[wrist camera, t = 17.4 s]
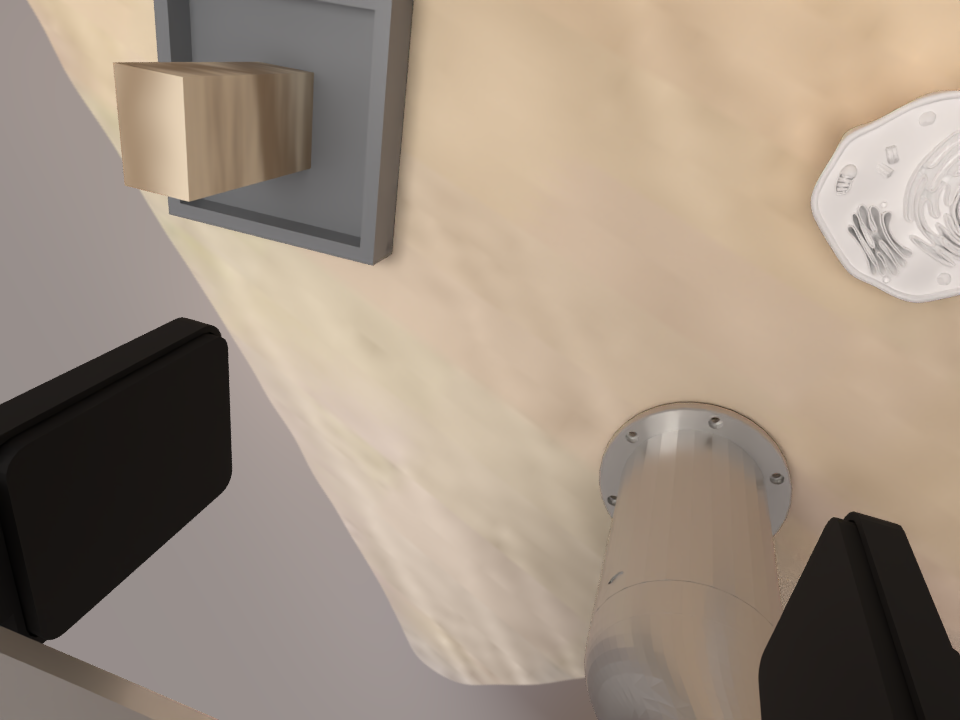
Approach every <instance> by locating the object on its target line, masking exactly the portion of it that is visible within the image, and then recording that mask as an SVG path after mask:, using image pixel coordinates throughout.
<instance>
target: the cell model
mask: <svg viewBox="0 0 960 720" xmlns="http://www.w3.org/2000/svg"><path fill="white" fill-rule="evenodd" d="M811 210H812V214H813V216H814V219H815V221H816V223H817V225H818V227H819V229H820V230H821V232H822V234H823V235H824V237H825V239H826V240H827V242H828V244H829V245H830V247H831V248H832V250H833V252H834V253H835V255H836V256H837V258H838V259H839V261H840V262H841V264H842V265H843V267H844V268H845V269H846V270H847V271H848V272H849V273H850V274H851V275H852V276H854V277H855V278H857V279H859V280H861V281H864V282H866V283H868V284H870V285H873V286H875V287H877V288H879V289H880V290H882V291H884V292H886V293H888V294H890V295H892V296H894V297H896V298H899V299H901V300H904V301H908V302H914V303H924V302H930V301H934V300H939V299H944V298H949V297H953V296H957V295H960V90H945V91H936V92H931V93H928V94H925V95H923V96H920V97H918V98H916V99H914V100H913V101H911V102H909V103H908V104H906V105H904V106H902V107H900V108H898V109H896V110H894V111H892V112H891V113H889V114H887V115H885V116H884V117H882V118H879V119H877V120H874V121H872V122H869V123H866V124H863V125H859V126H856V127H854V128H852V129H850V130H848V131H847V132H846V133H845V134H844V135H843V137H842V139H841V141H840V142H839V144H838V146H837V148H836V150H835V152H834V154H833V156H832V157H831V159H830V161H829V162H828V164H827V165H826V167H825V169H824V170H823V172H822V174H821V175H820V177H819V179H818V181H817V183H816V185H815V187H814V190H813V193H812V196H811Z"/></svg>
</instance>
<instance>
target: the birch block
mask: <svg viewBox="0 0 960 720" xmlns="http://www.w3.org/2000/svg"><path fill="white" fill-rule="evenodd" d="M113 67H114V77H115V88H116V98H117V109H118V119H119V130H120V140H121V151H122V161H123V172H124V182H125V185H126V186H129V187H133V188H137V189H141V190H145V191H149V192H153V193H157V194H161V195H165V196H169V197H172V198H176V199H180V200H184V201H188V202H190V201H194V200H197V199H201V198H205V197H208V196H212V195H215V194H219V193H223V192H226V191H230V190H234V189H237V188H241V187H245V186H248V185H252V184H256V183H259V182H263V181H266V180H270V179H274V178H277V177H281V176H285V175H288V174H292V173H296V172H299V171H303V170H307V169H310V168H311V147H312V116H313V85H314V73H313V72H308V71H303V70H298V69H293V68H288V67H283V66H278V65H273V64H268V63H263V62H126V63H113Z"/></svg>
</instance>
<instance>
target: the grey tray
mask: <svg viewBox="0 0 960 720" xmlns="http://www.w3.org/2000/svg"><path fill="white" fill-rule="evenodd" d="M154 11H155V25H156V39H157V53H158V62H263V63H268V64H273V65H278V66H283V67H288V68H293V69H298V70H303V71H308V72H313V73H314V85H313V116H312V147H311V168H310V169H307V170H303V171H299V172H296V173H292V174H288V175H285V176H281V177H277V178H274V179H270V180H266V181H263V182H259V183H256V184H252V185H248V186H245V187H241V188H237V189H234V190H230V191H226V192H223V193H219V194H215V195H212V196H208V197H205V198H201V199H197V200H194V201H190V202H188V201H184V200H180V199H176V198H172V197H169V196H168V205H169V214H171V215H175V216H179V217H183V218H186V219H190V220H194V221H198V222H202V223H206V224H210V225H214V226H218V227H222V228H226V229H230V230H234V231H238V232H242V233H246V234H250V235H254V236H258V237H262V238H266V239H270V240H274V241H277V242H281V243H285V244H289V245H293V246H297V247H301V248H305V249H309V250H313V251H317V252H321V253H325V254H329V255H333V256H337V257H341V258H345V259H349V260H353V261H357V262H361V263H365V264H368V265H372V266H373V265H375V264H376V263H378V262H379V261H381V260H383V259H384V258H386V257H388V256H389V255H391V254H392V244H393V232H394V221H395V209H396V197H397V186H398V174H399V162H400V151H401V139H402V127H403V116H404V104H405V92H406V81H407V69H408V57H409V46H410V34H411V22H412V11H413V0H154Z"/></svg>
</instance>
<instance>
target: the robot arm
mask: <svg viewBox="0 0 960 720" xmlns="http://www.w3.org/2000/svg"><path fill="white" fill-rule="evenodd" d="M229 395H230V393H229V364H228V346H227V342H226V340H225V339H224V338H222V337H221V333H220V332H219V330H218V329H217V328H216V327H215V326H212V325H209V324H205V323H202V322H198V321H195V320H191V319H188V318H183V317H181V318H177V319H175V320H173V321H171V322H169V323H167V324H165V325H162V326H161V327H158V328H157V329H155V330H152V331H150V332H148V333H146V334H144V335H142V336H140V337H138V338H136V339H134V340H132V341H130V342H128V343H126V344H124V345H121V346H119V347H118V348H115V349H113V350H111V351H109V352H107V353H105V354H103V355H101V356H99V357H97V358H95V359H93V360H91V361H89V362H87V363H84V364H82V365H80V366H79V367H76V368H74V369H72V370H70V371H68V372H66V373H64V374H62V375H60V376H58V377H56V378H54V379H52V380H50V381H48V382H45V383H43V384H41V385H39V386H37V387H35V388H33V389H31V390H29V391H27V392H25V393H23V394H21V395H19V396H17V397H15V398H13V399H11V400H9V401H7V402H4V403H3V404H1V405H0V720H218V719H216V718H213V717H211V716H209V715H207V714H204V713H202V712H200V711H197V710H195V709H193V708H190V707H188V706H186V705H183V704H181V703H179V702H177V701H174V700H172V699H169V698H167V697H165V696H163V695H161V694H158V693H156V692H153V691H151V690H149V689H147V688H144V687H142V686H140V685H137V684H135V683H132V682H130V681H128V680H126V679H123V678H121V677H119V676H116V675H114V674H112V673H109V672H107V671H105V670H102V669H100V668H98V667H95V666H93V665H91V664H88V663H86V662H84V661H81V660H79V659H77V658H74V657H72V656H70V655H67V654H65V653H63V652H60V651H58V650H55V649H53V648H51V647H48V646H46V645H44V644H43V643H44V642H45V641H46V640H53V639H55V638H58V637H60V636H61V635H62V634H64V633H65V632H66V631H67V630H68V629H69V628H71V627H72V626H73V625H74V624H75V623H76V622H77V621H78V620H80V619H81V618H82V617H83V616H84V615H85V614H86V613H87V612H88V611H90V610H91V609H92V608H93V607H94V606H95V605H96V604H98V603H99V602H100V601H101V600H102V599H103V598H104V597H105V596H107V595H108V594H109V593H110V592H111V591H112V590H113V589H114V588H116V587H117V586H118V585H119V584H120V583H121V582H122V581H123V580H125V579H126V578H127V577H128V576H129V575H130V574H131V573H132V572H134V570H136V569H137V568H138V567H139V566H140V565H141V564H142V563H144V562H145V561H146V560H147V559H148V558H149V557H150V556H151V555H152V554H154V553H155V552H156V551H157V550H158V549H159V548H160V547H162V546H163V545H164V544H165V543H166V542H167V541H168V540H169V539H170V538H172V537H173V536H174V535H175V534H176V533H177V532H178V531H180V530H181V529H182V528H183V527H184V526H185V525H186V524H187V523H189V521H191V520H192V519H193V518H194V517H195V516H196V515H197V514H199V513H200V512H201V511H202V510H203V509H204V508H205V507H207V505H209V504H210V503H211V502H212V501H213V500H214V499H216V498H217V497H218V496H219V495H220V494H221V493H222V492H223V491H224V490H225V489H226V487H227V485H228V483H229V481H230V478H231V475H232V454H231V453H232V452H231V424H230V423H231V422H230V396H229ZM713 417H718V418H719V419H717V420H715V419H712V418H713ZM631 432H635V434H633V433H631ZM774 473H778V474H774ZM599 486H600V491H601V496H602V500H603V502H604V504H605V507H606V509H607V512H608V513H609V515H610V516H611V518H612V523H611V528H610V533H609V538H608V542H607V547H606V552H605V557H604V561H603V566H602V571H601V576H600V580H599V585H598V590H597V595H596V599H595V604H594V609H593V614H592V618H591V623H590V628H589V633H588V638H587V643H586V649H585V659H584V666H585V679H586V684H587V689H588V693H589V697H590V701H591V704H592V707H593V709H594V711H595V714H596V716H597V719H598V720H960V655H959V653H958V652H957V651H956V650H955V649H953V648H952V645H951V643H950V641H949V638H948V636H947V633H946V631H945V629H944V626H943V624H942V621H941V619H940V616H939V614H938V612H937V609H936V607H935V604H934V602H933V600H932V597H931V595H930V592H929V590H928V587H927V585H926V583H925V580H924V578H923V575H922V573H921V570H920V568H919V566H918V563H917V561H916V558H915V556H914V554H913V551H912V549H911V546H910V544H909V541H908V539H907V537H906V534H905V532H904V530H903V528H902V527H901V526H900V525H898V524H895V523H892V522H888V521H885V520H881V519H878V518H874V517H871V516H867V515H864V514H861V513H857V512H850V513H849V514H848V515H847V516H846V517H845V518H844V520H843V519H839V518H836V517H833V518H831V519H830V520H829V521H828V523H827V524H826V526H825V528H824V530H823V532H822V534H821V536H820V538H819V540H818V542H817V544H816V546H815V548H814V550H813V552H812V554H811V556H810V559H809V561H808V563H807V565H806V567H805V569H804V571H803V573H802V575H801V577H800V579H799V581H798V583H797V585H796V587H795V589H794V591H793V593H792V595H791V597H790V599H789V601H788V603H787V605H786V607H785V609H784V611H782V604H781V596H780V589H779V581H778V574H777V566H776V559H775V551H774V544H773V536H774V535H775V534H776V533H777V532H778V531H779V529H780V528H781V526H782V524H783V523H784V521H785V519H786V518H787V515H788V511H789V508H790V505H791V495H792V485H791V479H790V473H789V470H788V467H787V464H786V461H785V458H784V456H783V454H782V453H781V451H780V449H779V448H778V446H777V444H776V443H775V442H774V441H773V440H772V439H771V437H770V436H769V435H768V434H767V433H766V432H765V431H764V430H763V429H762V428H760V427H759V426H758V425H756V424H755V423H754V422H752V421H751V420H749V419H748V418H746V417H744V416H742V415H740V414H738V413H736V412H734V411H731V410H728V409H725V408H722V407H718V406H715V405H709V404H702V403H673V404H668V405H662V406H658V407H655V408H653V409H650V410H647V411H645V412H642V413H640V414H639V415H637V416H635V417H634V418H632V419H630V420H629V421H628V422H626V423H625V424H624V425H623V426H622V427H621V428H620V429H619V430H618V431H617V432H616V433H615V435H614V436H613V437H612V439H611V440H610V442H609V443H608V445H607V448H606V450H605V453H604V455H603V458H602V463H601V467H600V476H599Z"/></svg>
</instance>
